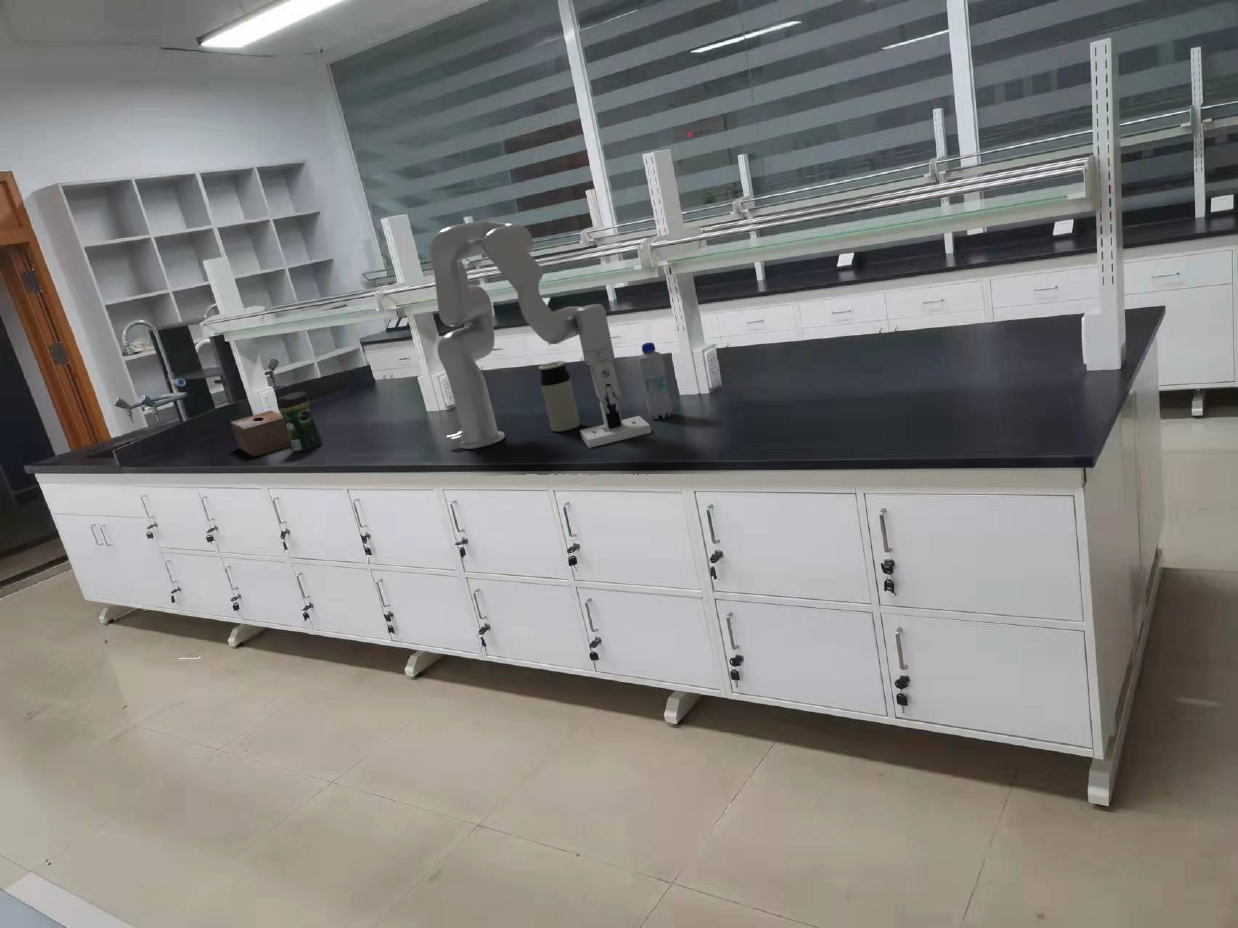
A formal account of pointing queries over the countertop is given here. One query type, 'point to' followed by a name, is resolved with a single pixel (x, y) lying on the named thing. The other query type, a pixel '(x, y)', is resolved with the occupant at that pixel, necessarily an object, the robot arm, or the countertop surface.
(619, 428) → the charger
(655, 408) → the bottle
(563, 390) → the travel mug
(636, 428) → the outlet plate
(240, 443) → the tissue box cover
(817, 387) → the countertop surface
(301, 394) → the coffee jar
